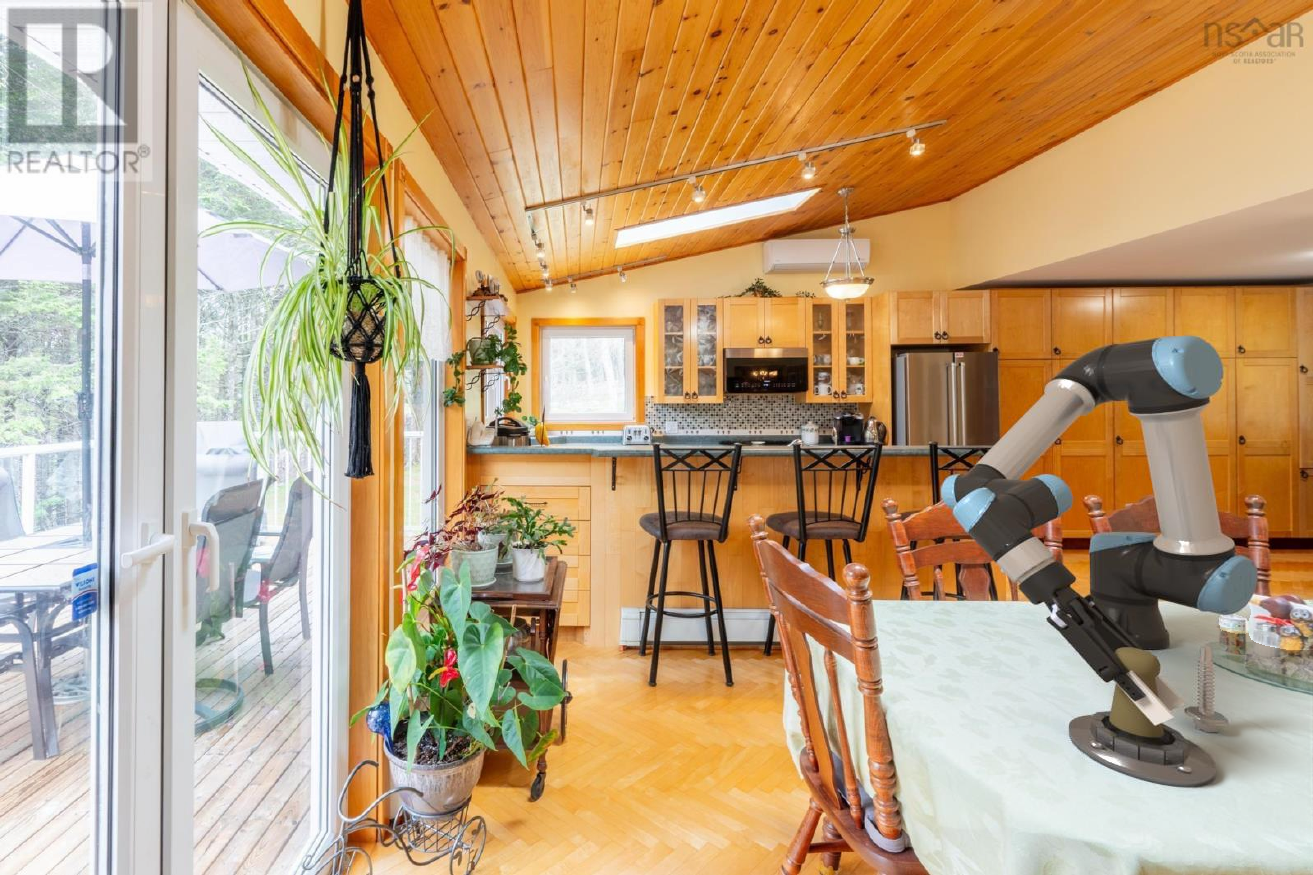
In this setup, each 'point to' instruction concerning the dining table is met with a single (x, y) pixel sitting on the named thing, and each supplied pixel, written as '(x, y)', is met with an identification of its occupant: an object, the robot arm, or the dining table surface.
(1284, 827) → the dining table surface
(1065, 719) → the dining table surface
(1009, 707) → the dining table surface
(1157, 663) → the cork
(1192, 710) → the screw
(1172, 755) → the flange
